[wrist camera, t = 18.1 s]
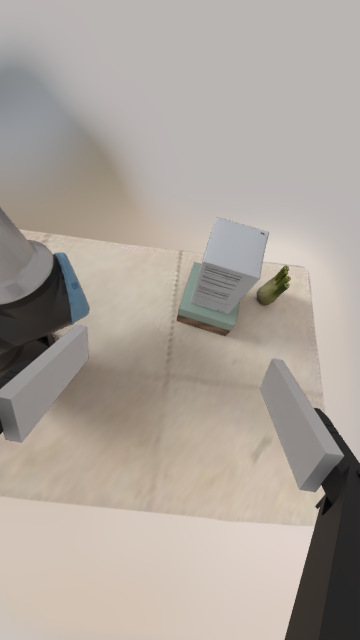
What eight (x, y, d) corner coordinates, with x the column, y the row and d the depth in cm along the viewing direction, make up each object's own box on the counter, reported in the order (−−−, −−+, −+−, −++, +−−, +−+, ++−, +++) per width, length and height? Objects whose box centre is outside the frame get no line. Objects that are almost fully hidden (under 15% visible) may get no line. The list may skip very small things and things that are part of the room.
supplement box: (200, 268, 50) (216, 213, 34) (237, 279, 50) (270, 229, 34) (189, 304, 47) (201, 261, 31) (228, 315, 47) (261, 279, 31)
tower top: (177, 314, 51) (178, 308, 47) (192, 270, 55) (194, 261, 51) (229, 330, 50) (234, 325, 46) (240, 285, 54) (245, 277, 51)
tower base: (176, 321, 54) (177, 316, 50) (190, 280, 59) (192, 272, 55) (224, 336, 54) (229, 332, 50) (235, 293, 58) (239, 286, 54)
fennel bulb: (266, 310, 56) (291, 289, 45) (250, 300, 57) (271, 277, 46) (275, 295, 58) (302, 271, 47) (260, 285, 59) (282, 259, 48)
